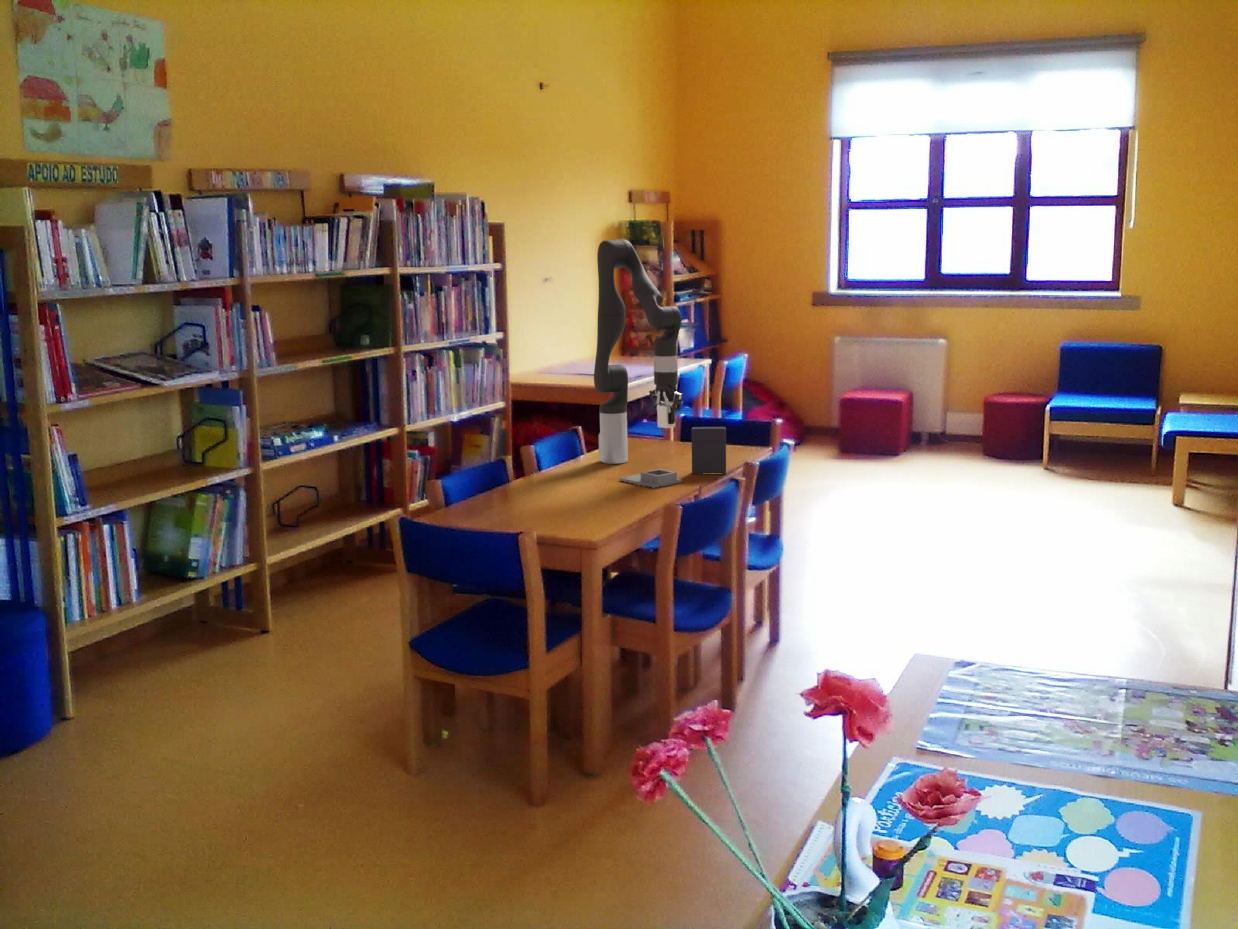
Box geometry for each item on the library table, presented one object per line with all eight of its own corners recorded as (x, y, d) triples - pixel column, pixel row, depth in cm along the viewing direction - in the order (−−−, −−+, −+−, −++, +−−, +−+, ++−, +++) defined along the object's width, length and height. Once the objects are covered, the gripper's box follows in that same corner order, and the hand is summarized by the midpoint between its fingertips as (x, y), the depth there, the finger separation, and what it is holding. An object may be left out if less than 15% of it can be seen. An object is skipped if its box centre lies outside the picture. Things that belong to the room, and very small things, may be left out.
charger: (657, 427, 384) (657, 402, 383) (666, 425, 387) (666, 401, 385) (666, 428, 381) (665, 404, 380) (675, 426, 384) (675, 402, 382)
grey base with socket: (619, 481, 379) (618, 470, 378) (647, 475, 387) (647, 464, 386) (653, 488, 367) (652, 477, 366) (681, 482, 375) (681, 471, 374)
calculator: (726, 472, 389) (725, 426, 387) (726, 474, 385) (725, 428, 382) (692, 472, 391) (691, 426, 388) (691, 474, 386) (691, 428, 383)
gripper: (642, 369, 383) (642, 422, 387) (672, 372, 373) (673, 427, 376) (659, 367, 388) (660, 419, 391) (689, 370, 377) (690, 424, 381)
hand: (666, 422), depth 384 cm, fingers closed on charger, 4 cm apart
